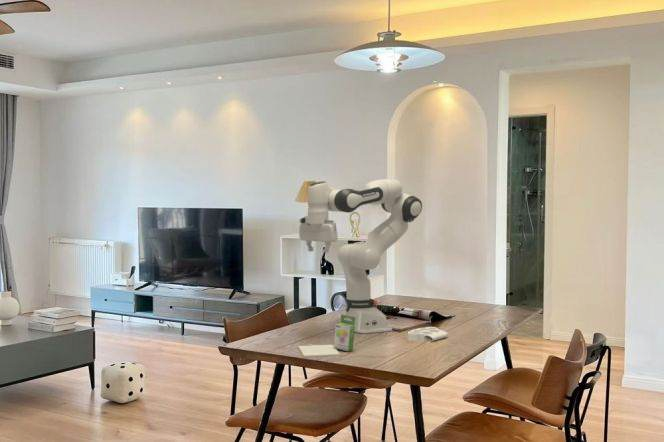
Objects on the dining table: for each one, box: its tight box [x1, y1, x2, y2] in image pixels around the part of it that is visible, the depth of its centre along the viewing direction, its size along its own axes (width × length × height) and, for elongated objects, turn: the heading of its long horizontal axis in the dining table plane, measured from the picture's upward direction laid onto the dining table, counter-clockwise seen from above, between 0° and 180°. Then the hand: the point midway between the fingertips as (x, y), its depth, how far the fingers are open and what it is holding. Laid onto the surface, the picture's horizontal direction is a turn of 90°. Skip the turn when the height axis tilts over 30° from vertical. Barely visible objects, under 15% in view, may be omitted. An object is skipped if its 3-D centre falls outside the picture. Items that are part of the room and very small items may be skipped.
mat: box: [297, 344, 341, 358], centre depth 258 cm, size 14×16×1 cm
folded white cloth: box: [407, 326, 449, 343], centre depth 283 cm, size 3×18×15 cm
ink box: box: [333, 313, 356, 352], centre depth 260 cm, size 7×4×13 cm, turn 56°
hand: (318, 251), depth 280 cm, fingers open, 8 cm apart
